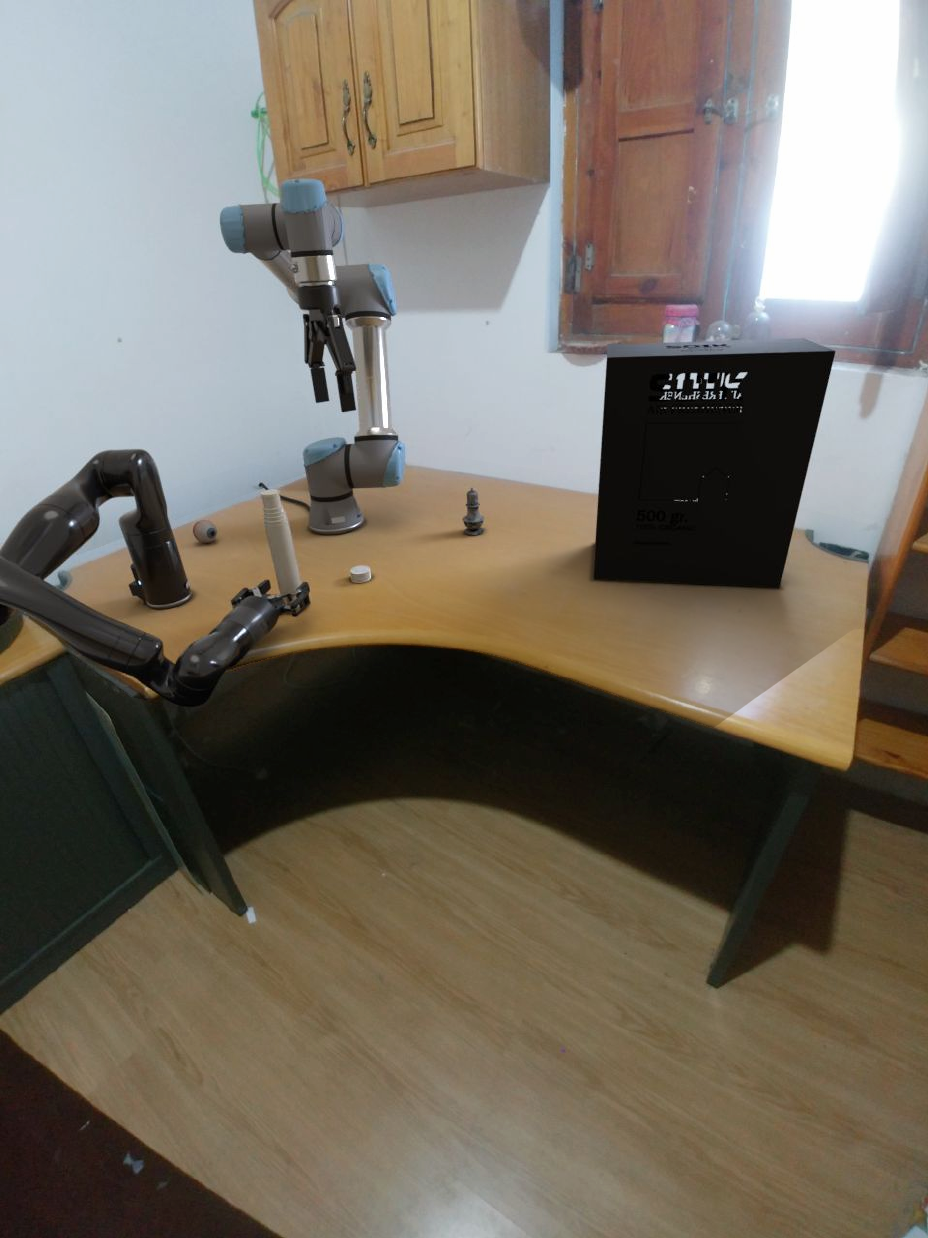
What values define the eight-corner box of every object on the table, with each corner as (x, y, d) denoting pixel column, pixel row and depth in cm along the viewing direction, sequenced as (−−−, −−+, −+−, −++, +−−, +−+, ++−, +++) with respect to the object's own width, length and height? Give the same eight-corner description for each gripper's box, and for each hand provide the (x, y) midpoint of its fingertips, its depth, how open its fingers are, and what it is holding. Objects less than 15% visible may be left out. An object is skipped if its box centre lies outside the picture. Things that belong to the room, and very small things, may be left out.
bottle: (302, 613, 126) (277, 495, 113) (280, 613, 126) (253, 496, 113) (308, 602, 130) (285, 487, 117) (287, 603, 130) (261, 488, 117)
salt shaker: (482, 535, 157) (481, 491, 151) (460, 535, 158) (458, 490, 152) (486, 527, 162) (485, 483, 156) (465, 526, 163) (463, 483, 157)
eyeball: (206, 547, 159) (200, 526, 156) (191, 543, 162) (185, 522, 159) (225, 539, 164) (219, 518, 161) (210, 536, 167) (204, 515, 164)
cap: (374, 578, 139) (373, 569, 137) (358, 584, 136) (356, 575, 135) (364, 572, 142) (362, 563, 140) (347, 578, 139) (346, 569, 138)
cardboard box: (759, 548, 141) (803, 338, 119) (779, 587, 124) (835, 350, 102) (595, 543, 149) (607, 344, 126) (593, 579, 132) (607, 357, 109)
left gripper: (217, 639, 114) (260, 598, 127) (287, 644, 111) (322, 602, 124) (207, 604, 110) (252, 566, 124) (278, 609, 107) (316, 569, 121)
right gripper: (275, 286, 117) (296, 400, 127) (322, 284, 98) (342, 418, 109) (312, 284, 120) (329, 395, 131) (364, 281, 102) (379, 412, 112)
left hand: (287, 584), depth 124 cm, fingers open, 8 cm apart
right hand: (335, 406), depth 120 cm, fingers open, 13 cm apart
